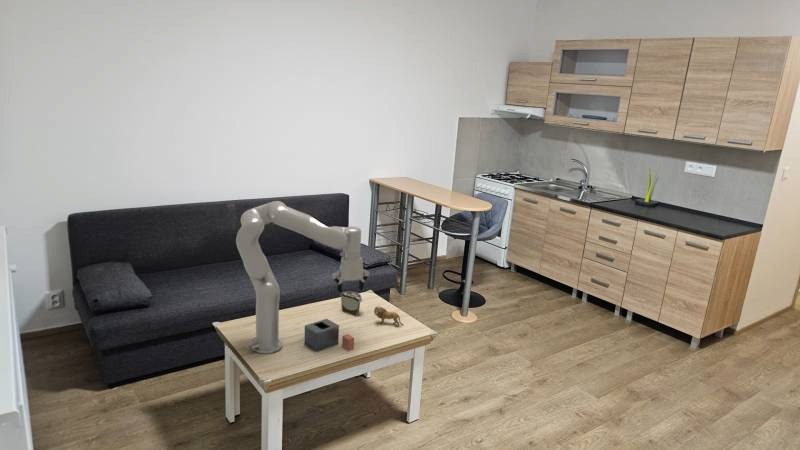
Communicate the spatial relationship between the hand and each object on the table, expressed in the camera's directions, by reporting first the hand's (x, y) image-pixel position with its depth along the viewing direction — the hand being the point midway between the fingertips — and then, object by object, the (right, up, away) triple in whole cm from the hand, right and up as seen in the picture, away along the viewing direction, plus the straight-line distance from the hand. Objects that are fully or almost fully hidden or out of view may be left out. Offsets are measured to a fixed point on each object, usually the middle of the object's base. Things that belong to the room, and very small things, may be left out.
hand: (350, 290), depth 237 cm
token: (-1, -25, -5) cm, 25 cm away
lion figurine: (+16, -19, +21) cm, 33 cm away
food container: (-2, -15, +32) cm, 36 cm away
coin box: (-13, -23, -3) cm, 27 cm away
